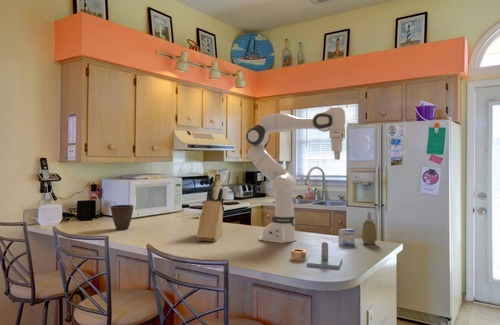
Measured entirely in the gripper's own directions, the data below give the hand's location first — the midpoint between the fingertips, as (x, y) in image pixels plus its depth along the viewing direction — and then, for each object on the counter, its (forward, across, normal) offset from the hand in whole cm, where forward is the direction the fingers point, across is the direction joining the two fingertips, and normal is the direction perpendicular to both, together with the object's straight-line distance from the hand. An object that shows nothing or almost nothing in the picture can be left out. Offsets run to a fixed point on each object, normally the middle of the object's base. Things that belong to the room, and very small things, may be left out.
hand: (337, 159), depth 212 cm
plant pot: (+48, +5, -144) cm, 152 cm away
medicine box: (+48, 0, +5) cm, 49 cm away
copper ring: (+48, +40, -14) cm, 64 cm away
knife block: (+48, +6, -76) cm, 90 cm away
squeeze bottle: (+48, -6, +17) cm, 52 cm away
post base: (+48, +44, -1) cm, 65 cm away
